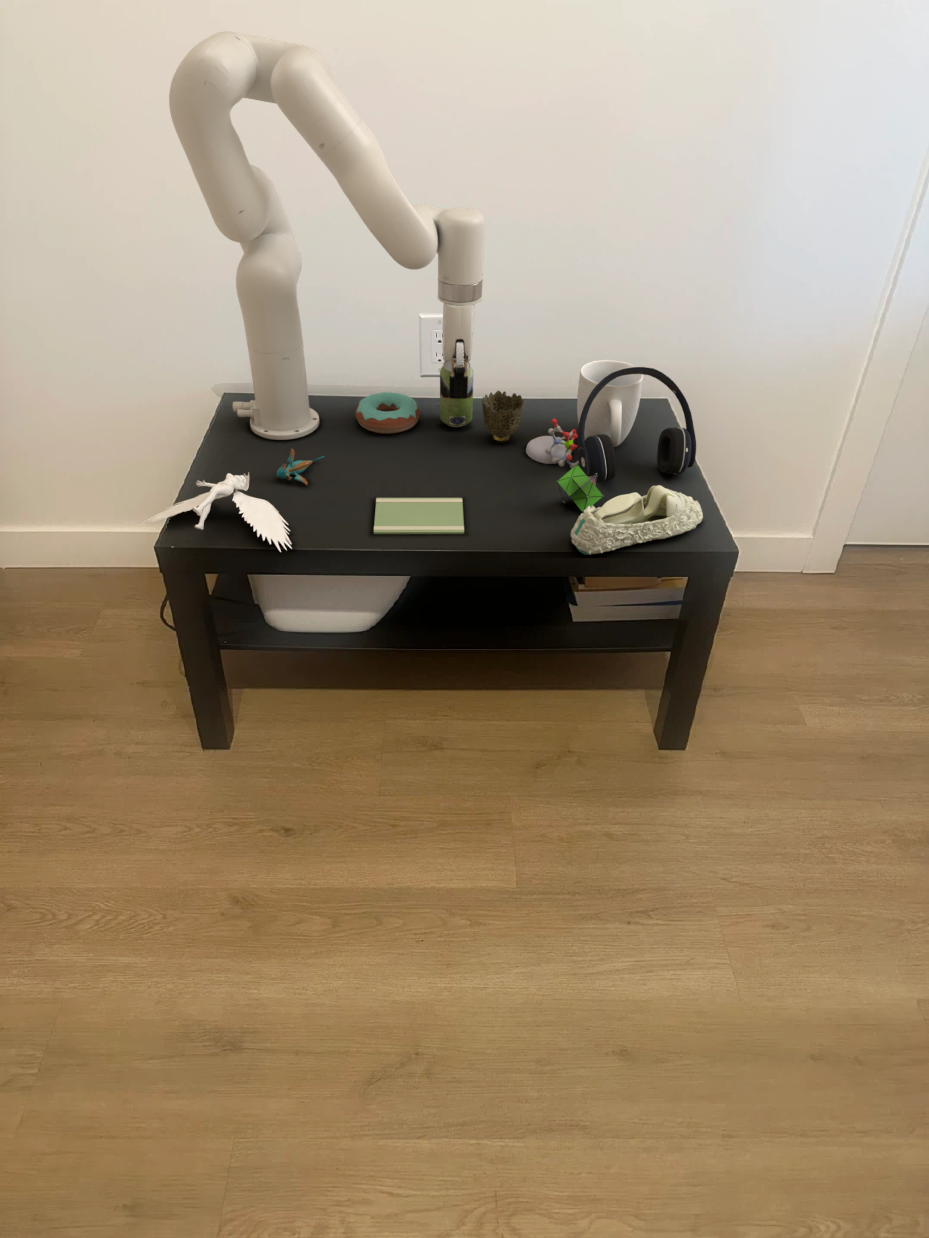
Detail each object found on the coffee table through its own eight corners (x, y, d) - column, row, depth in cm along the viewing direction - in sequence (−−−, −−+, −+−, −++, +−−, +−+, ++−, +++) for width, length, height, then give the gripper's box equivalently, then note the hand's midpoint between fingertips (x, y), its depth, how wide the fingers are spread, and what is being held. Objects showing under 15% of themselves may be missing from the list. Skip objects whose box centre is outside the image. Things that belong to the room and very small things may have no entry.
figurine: (112, 522, 127) (162, 530, 141) (268, 560, 123) (304, 564, 137) (129, 442, 127) (177, 457, 140) (286, 478, 122) (321, 490, 136)
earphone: (684, 473, 152) (678, 366, 149) (702, 472, 146) (697, 360, 143) (576, 484, 149) (568, 375, 146) (589, 484, 142) (581, 369, 139)
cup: (527, 436, 159) (530, 395, 154) (512, 453, 154) (514, 412, 149) (490, 427, 162) (492, 387, 157) (474, 444, 156) (475, 403, 151)
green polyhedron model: (591, 466, 133) (576, 451, 140) (557, 495, 135) (544, 478, 142) (617, 498, 137) (601, 481, 144) (583, 526, 138) (569, 508, 145)
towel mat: (373, 534, 134) (373, 531, 134) (376, 499, 142) (376, 497, 141) (464, 534, 134) (464, 531, 134) (462, 499, 142) (462, 497, 142)
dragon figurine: (279, 453, 150) (266, 458, 143) (318, 437, 149) (306, 442, 142) (295, 488, 152) (282, 495, 144) (332, 473, 151) (322, 479, 143)
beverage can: (473, 417, 165) (477, 355, 158) (469, 433, 159) (474, 370, 152) (440, 414, 165) (443, 352, 158) (435, 430, 159) (438, 366, 152)
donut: (350, 412, 165) (349, 392, 163) (411, 405, 168) (411, 386, 165) (362, 441, 157) (361, 421, 154) (426, 433, 159) (426, 413, 157)
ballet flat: (716, 530, 138) (728, 487, 132) (592, 572, 128) (600, 527, 123) (680, 502, 143) (691, 460, 138) (559, 540, 133) (565, 497, 128)
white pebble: (525, 452, 151) (525, 462, 152) (571, 455, 150) (570, 465, 152) (527, 430, 157) (526, 439, 158) (572, 433, 156) (570, 443, 158)
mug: (642, 466, 151) (654, 396, 143) (580, 466, 151) (588, 396, 143) (626, 426, 163) (637, 359, 155) (568, 426, 162) (575, 359, 154)
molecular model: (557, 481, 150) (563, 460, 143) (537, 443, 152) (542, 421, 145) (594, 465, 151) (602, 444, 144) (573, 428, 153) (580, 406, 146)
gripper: (437, 272, 152) (436, 369, 164) (438, 307, 139) (437, 411, 151) (479, 272, 153) (476, 369, 164) (484, 308, 139) (480, 411, 151)
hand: (457, 388), depth 157 cm, fingers closed on beverage can, 6 cm apart
